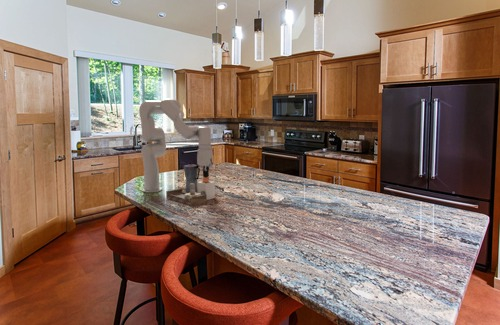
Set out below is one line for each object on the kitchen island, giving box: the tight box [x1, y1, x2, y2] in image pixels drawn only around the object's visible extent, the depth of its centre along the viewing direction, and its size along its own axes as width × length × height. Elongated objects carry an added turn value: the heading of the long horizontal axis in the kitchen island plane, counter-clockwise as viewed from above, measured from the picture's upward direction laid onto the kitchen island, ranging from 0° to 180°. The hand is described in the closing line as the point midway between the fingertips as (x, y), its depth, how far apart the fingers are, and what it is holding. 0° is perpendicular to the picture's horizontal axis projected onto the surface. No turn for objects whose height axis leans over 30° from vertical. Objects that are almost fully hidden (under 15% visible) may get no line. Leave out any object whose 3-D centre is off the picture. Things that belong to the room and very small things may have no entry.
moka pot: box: [182, 161, 201, 193], centre depth 217 cm, size 10×15×20 cm, turn 55°
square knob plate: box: [184, 184, 201, 199], centre depth 193 cm, size 7×7×9 cm
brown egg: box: [201, 176, 210, 183], centre depth 201 cm, size 4×4×4 cm
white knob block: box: [197, 180, 216, 201], centre depth 202 cm, size 8×8×10 cm
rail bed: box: [165, 187, 208, 207], centre depth 198 cm, size 24×11×4 cm, turn 49°
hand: (205, 176), depth 200 cm, fingers closed
